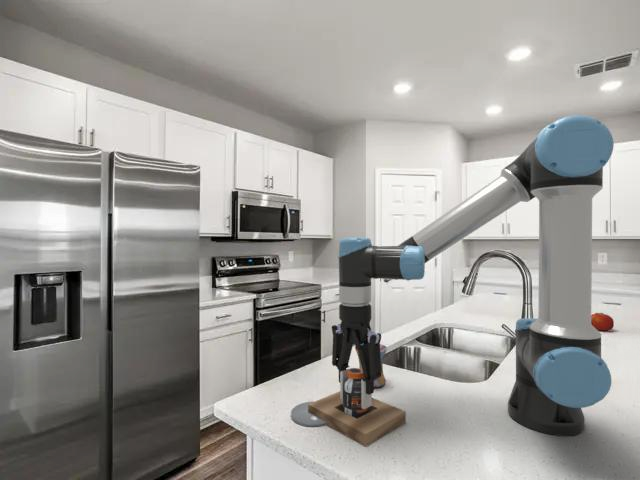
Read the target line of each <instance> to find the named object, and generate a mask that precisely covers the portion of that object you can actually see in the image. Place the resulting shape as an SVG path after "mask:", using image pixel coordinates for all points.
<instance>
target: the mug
mask: <svg viewBox="0 0 640 480" xmlns="http://www.w3.org/2000/svg"><path fill="white" fill-rule="evenodd" d="M363 344H364V343H363ZM363 344H361V345H363ZM354 349H355V352H356V355H357V359H358V363H359V366H358V367H359V368H360V369H362V366H361V361H360V357H359V353H358V350H357V349H356V346H354ZM387 350H388V347H387V346H386V345H384V344H382V343H380V357H381V377H379V378H377V379H375V380H374V388H379V387H382V386H384V385H385V384H386V382H387V380H386V378H385V377H386V376H385V375H384V371H383V369H384V367H383V366H384V364H383V363H384V358H385V354H386V353H387Z"/></svg>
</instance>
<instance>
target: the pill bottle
mask: <svg viewBox="0 0 640 480" xmlns="http://www.w3.org/2000/svg"><path fill="white" fill-rule="evenodd" d="M347 369H348V370H347V378H346V379H345V380H344V381H343V412H344V413H346V414H348V415H351V416H353V417H355V418H359V417H361V416H363V415H365V414H367V413H368V408H366V409H362V408H361V379H363V378H364V375H363V370H362V369H360V368H358V367H349V368H347Z"/></svg>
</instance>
